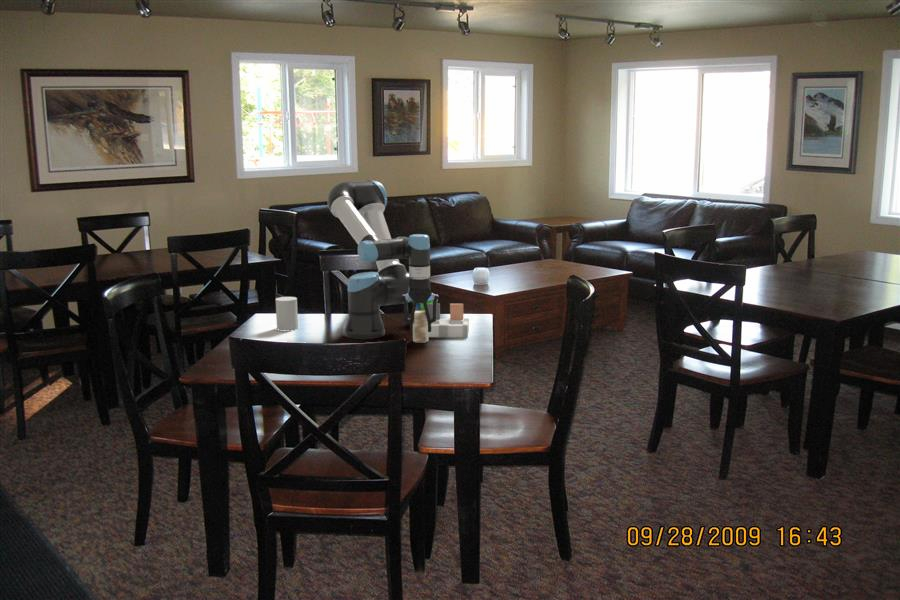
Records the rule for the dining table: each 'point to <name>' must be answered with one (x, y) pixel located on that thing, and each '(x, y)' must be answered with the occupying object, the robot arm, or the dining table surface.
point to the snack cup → (421, 307)
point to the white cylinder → (286, 313)
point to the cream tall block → (420, 326)
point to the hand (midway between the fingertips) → (420, 340)
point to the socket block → (449, 323)
